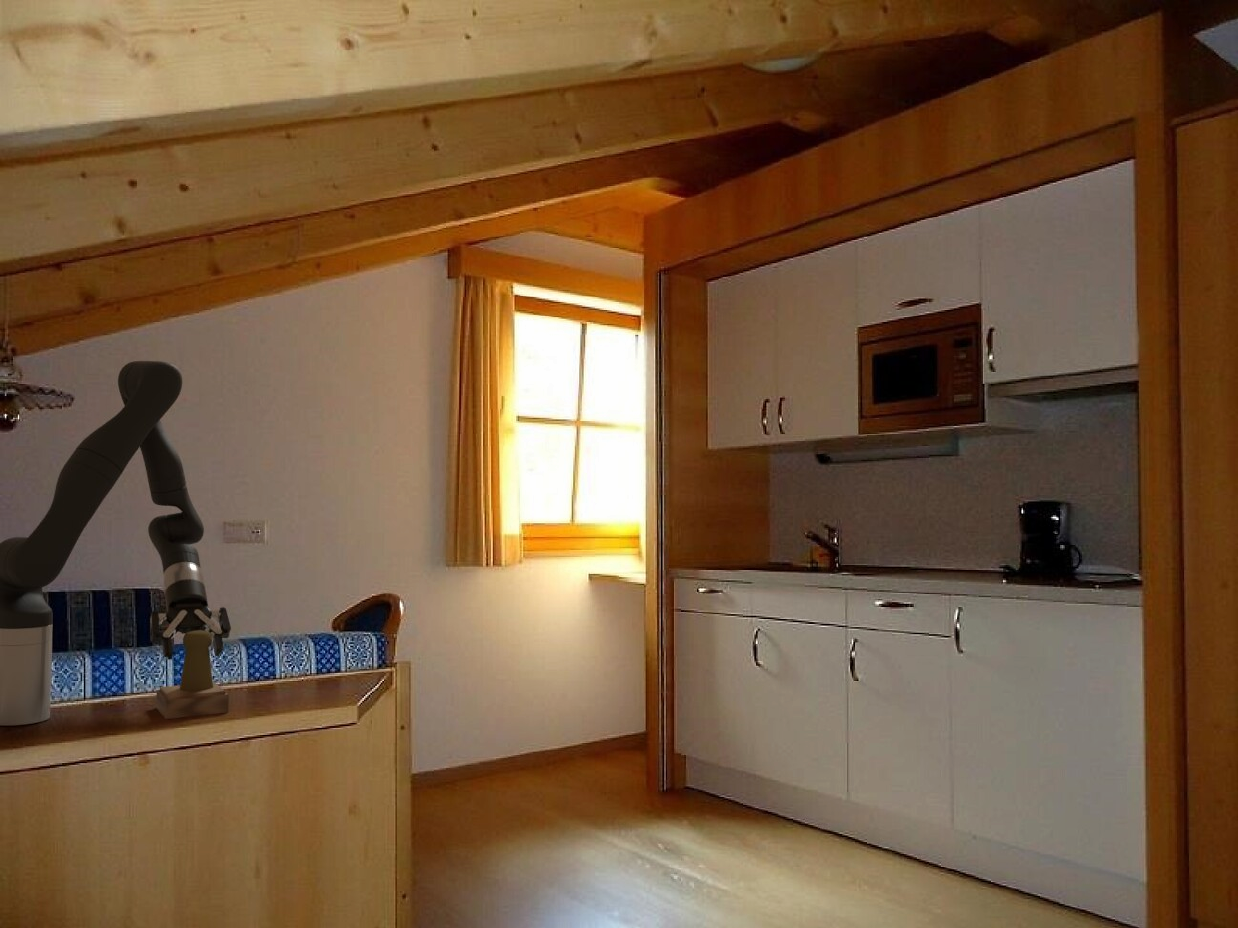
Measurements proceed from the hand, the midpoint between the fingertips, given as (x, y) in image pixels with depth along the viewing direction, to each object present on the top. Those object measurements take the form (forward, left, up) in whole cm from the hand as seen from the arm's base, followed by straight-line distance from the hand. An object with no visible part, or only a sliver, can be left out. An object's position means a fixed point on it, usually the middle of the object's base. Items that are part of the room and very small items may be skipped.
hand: (194, 655), depth 191 cm
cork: (+1, +2, -7) cm, 7 cm away
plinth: (0, +1, -11) cm, 11 cm away
